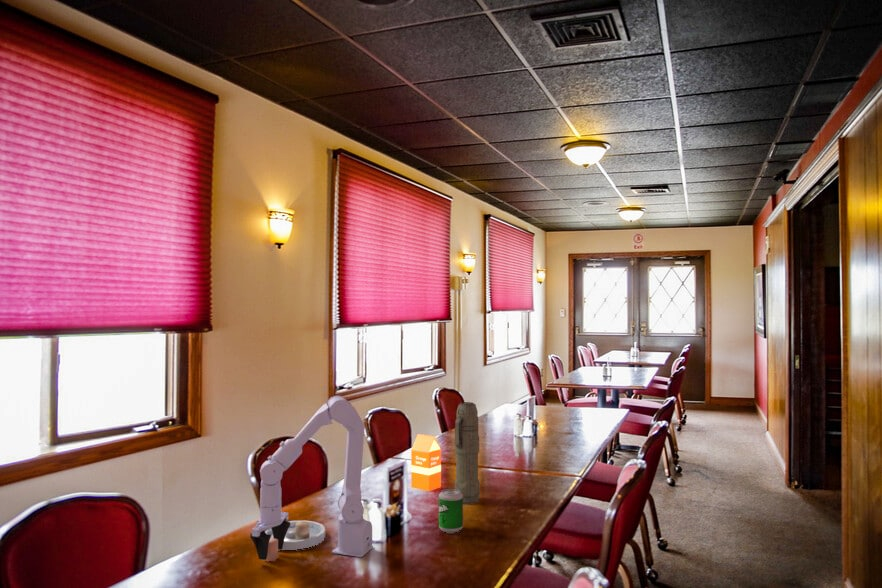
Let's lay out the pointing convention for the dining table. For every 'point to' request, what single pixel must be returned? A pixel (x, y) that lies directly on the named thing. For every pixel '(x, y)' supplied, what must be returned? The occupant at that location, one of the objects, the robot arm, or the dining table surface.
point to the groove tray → (292, 544)
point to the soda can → (450, 510)
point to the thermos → (467, 452)
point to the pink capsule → (272, 550)
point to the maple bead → (302, 530)
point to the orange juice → (426, 463)
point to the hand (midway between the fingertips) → (270, 553)
